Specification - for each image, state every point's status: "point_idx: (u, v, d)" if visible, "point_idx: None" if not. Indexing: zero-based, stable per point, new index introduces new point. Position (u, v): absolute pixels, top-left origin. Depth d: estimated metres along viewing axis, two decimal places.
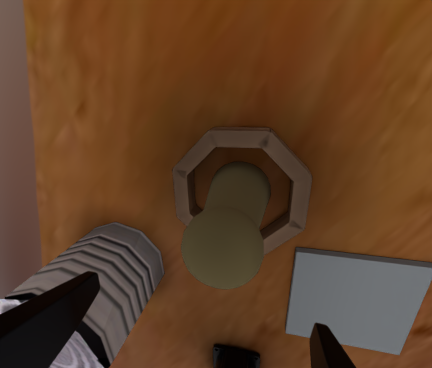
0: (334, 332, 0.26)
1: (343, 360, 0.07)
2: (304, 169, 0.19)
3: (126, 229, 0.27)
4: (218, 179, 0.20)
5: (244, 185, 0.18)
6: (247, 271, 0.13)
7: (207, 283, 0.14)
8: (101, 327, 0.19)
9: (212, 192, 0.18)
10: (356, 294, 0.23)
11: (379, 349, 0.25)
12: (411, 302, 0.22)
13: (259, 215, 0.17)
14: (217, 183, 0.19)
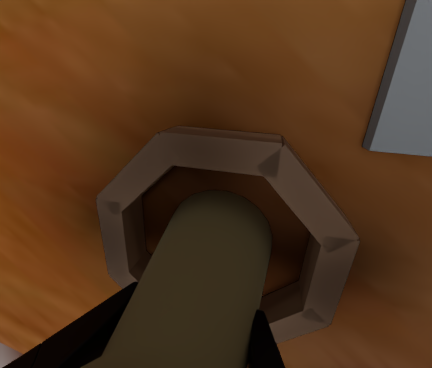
0: None
1: (267, 341, 0.07)
2: (147, 146, 0.10)
3: None
4: None
5: (144, 272, 0.09)
6: None
7: None
8: None
9: None
10: None
11: None
12: None
13: (165, 285, 0.07)
14: None
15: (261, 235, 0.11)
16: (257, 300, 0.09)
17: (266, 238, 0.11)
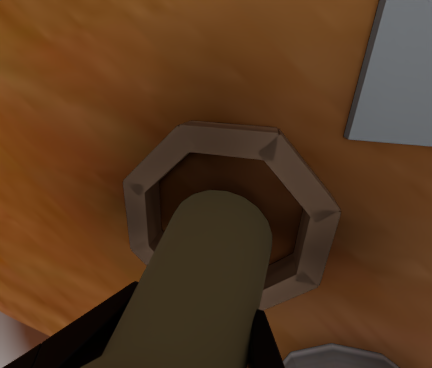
0: None
1: (267, 341, 0.07)
2: (168, 136, 0.12)
3: None
4: None
5: (144, 272, 0.09)
6: None
7: None
8: None
9: None
10: None
11: None
12: None
13: (165, 285, 0.07)
14: None
15: (261, 235, 0.11)
16: (257, 300, 0.09)
17: (266, 238, 0.11)
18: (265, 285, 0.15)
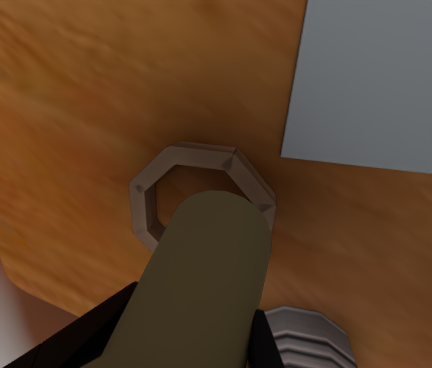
0: None
1: (267, 341, 0.07)
2: (161, 153, 0.18)
3: None
4: None
5: (143, 272, 0.09)
6: None
7: None
8: None
9: None
10: (371, 65, 0.14)
11: None
12: None
13: (164, 285, 0.07)
14: None
15: (261, 235, 0.11)
16: (256, 300, 0.09)
17: (265, 238, 0.11)
18: None
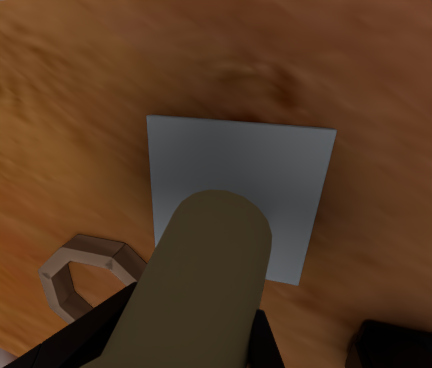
0: (288, 226, 0.16)
1: (267, 341, 0.07)
2: (57, 251, 0.21)
3: None
4: None
5: (143, 272, 0.09)
6: None
7: None
8: None
9: None
10: None
11: (323, 162, 0.14)
12: (208, 133, 0.15)
13: (164, 285, 0.07)
14: None
15: (261, 234, 0.11)
16: (257, 300, 0.08)
17: (265, 237, 0.11)
18: None
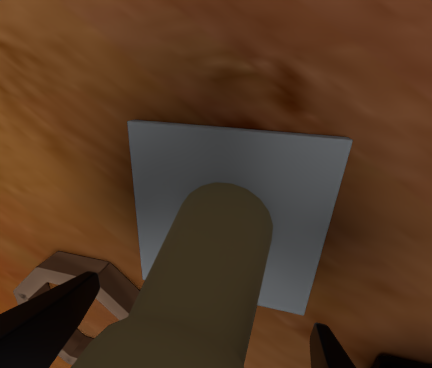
0: (292, 249, 0.14)
1: (343, 360, 0.07)
2: (33, 272, 0.18)
3: None
4: None
5: (158, 254, 0.10)
6: None
7: None
8: None
9: None
10: None
11: (336, 178, 0.12)
12: (199, 142, 0.13)
13: (180, 261, 0.08)
14: None
15: (263, 223, 0.12)
16: (259, 278, 0.10)
17: (267, 226, 0.12)
18: None
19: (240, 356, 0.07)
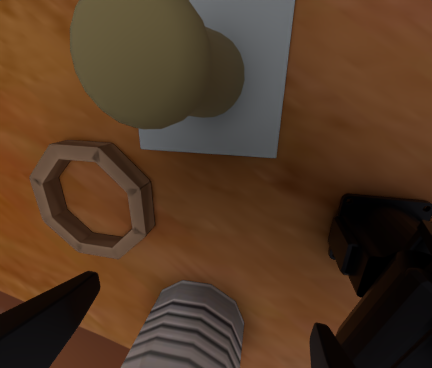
0: (261, 88, 0.17)
1: (343, 360, 0.07)
2: (46, 150, 0.21)
3: None
4: None
5: None
6: None
7: (169, 77, 0.07)
8: None
9: None
10: None
11: (289, 8, 0.15)
12: None
13: None
14: None
15: (233, 48, 0.15)
16: (226, 58, 0.13)
17: (237, 54, 0.15)
18: (122, 238, 0.24)
19: None
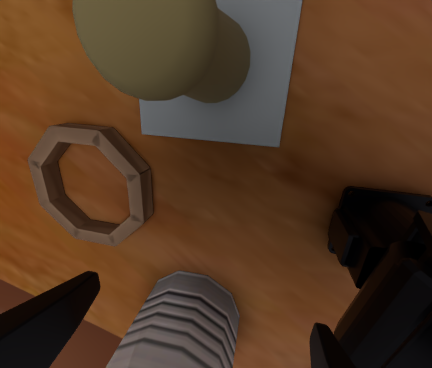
0: (267, 74, 0.16)
1: (343, 360, 0.07)
2: (46, 132, 0.21)
3: None
4: None
5: None
6: None
7: (175, 39, 0.07)
8: None
9: None
10: None
11: None
12: None
13: None
14: None
15: (240, 30, 0.15)
16: (233, 37, 0.12)
17: (243, 37, 0.15)
18: (119, 225, 0.24)
19: None
